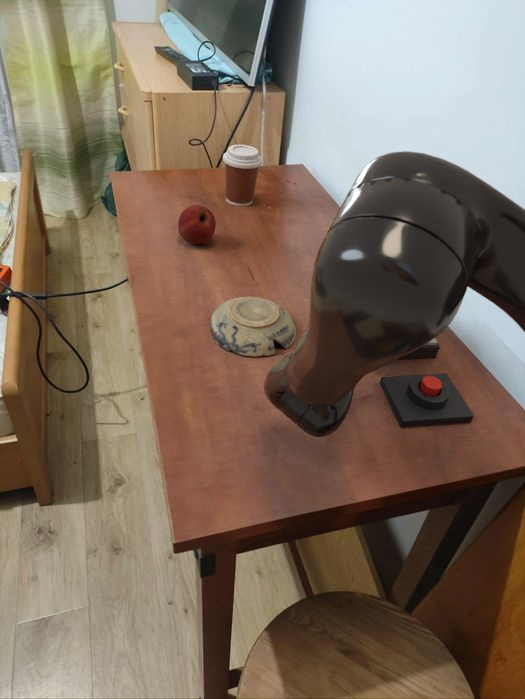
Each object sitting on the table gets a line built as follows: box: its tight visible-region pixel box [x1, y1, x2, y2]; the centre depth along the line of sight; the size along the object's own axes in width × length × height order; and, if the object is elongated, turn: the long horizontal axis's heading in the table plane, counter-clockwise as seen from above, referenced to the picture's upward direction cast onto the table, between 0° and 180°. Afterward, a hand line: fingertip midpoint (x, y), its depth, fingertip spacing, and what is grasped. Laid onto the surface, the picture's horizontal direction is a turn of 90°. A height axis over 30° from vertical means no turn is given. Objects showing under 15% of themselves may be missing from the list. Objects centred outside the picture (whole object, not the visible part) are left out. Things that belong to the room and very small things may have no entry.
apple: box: [177, 204, 217, 245], centre depth 103 cm, size 7×8×8 cm
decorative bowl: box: [209, 295, 297, 358], centre depth 84 cm, size 15×4×15 cm
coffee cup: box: [222, 144, 263, 207], centre depth 119 cm, size 9×9×12 cm
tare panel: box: [378, 372, 475, 428], centre depth 75 cm, size 11×9×3 cm
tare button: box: [420, 376, 442, 396], centre depth 74 cm, size 3×3×2 cm
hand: (405, 283), depth 83 cm, fingers open, 8 cm apart
